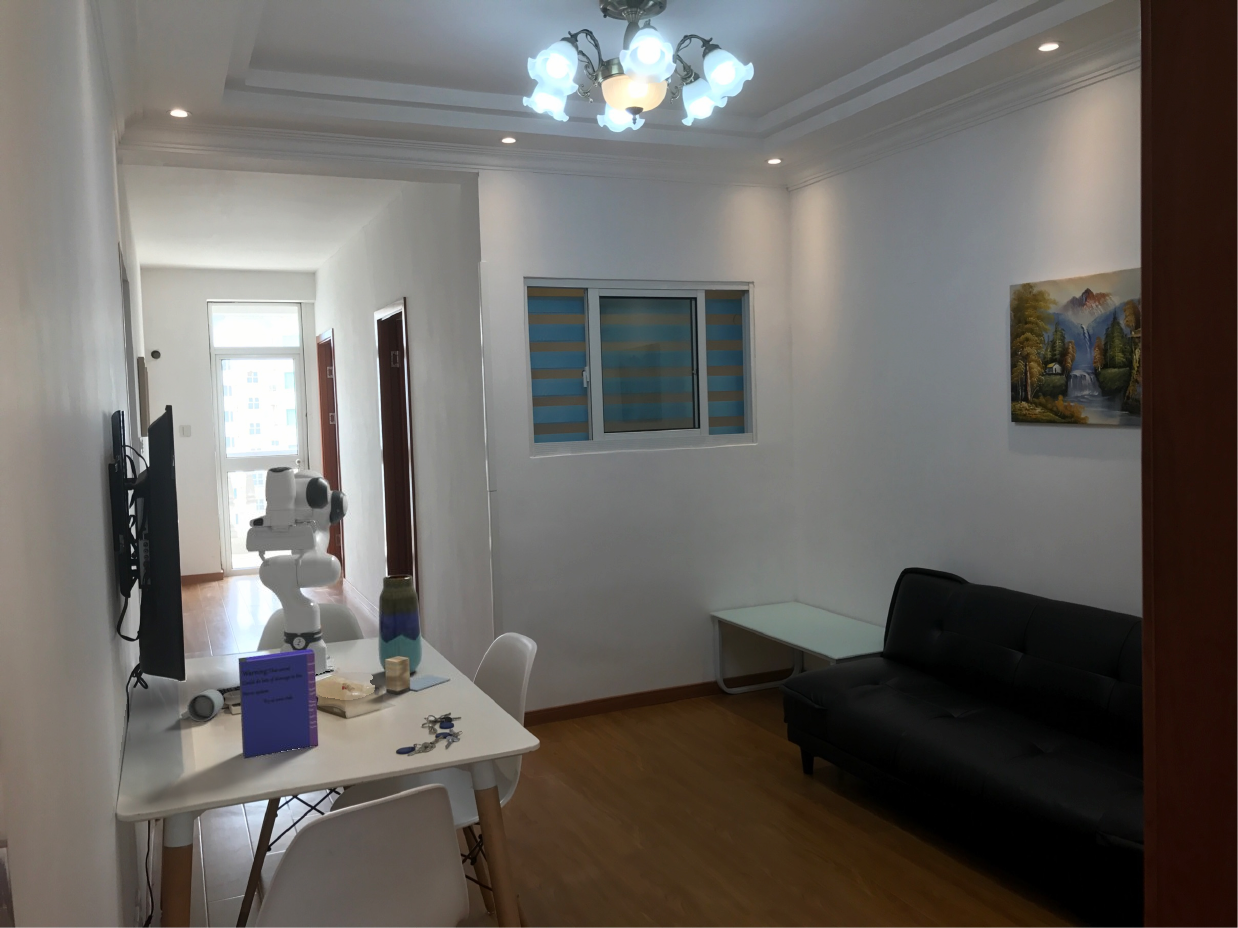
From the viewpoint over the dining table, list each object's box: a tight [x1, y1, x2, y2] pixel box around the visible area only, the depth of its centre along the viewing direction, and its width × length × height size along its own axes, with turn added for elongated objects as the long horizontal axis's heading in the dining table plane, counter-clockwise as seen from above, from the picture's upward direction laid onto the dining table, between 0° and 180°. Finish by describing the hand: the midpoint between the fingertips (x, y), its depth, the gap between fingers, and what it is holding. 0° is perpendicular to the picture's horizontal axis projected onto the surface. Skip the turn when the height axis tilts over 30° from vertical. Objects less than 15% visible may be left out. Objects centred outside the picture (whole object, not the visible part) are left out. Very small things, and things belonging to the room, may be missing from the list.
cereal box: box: [238, 649, 319, 759], centre depth 239 cm, size 17×5×24 cm, turn 117°
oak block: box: [384, 656, 411, 696], centre depth 288 cm, size 5×5×10 cm
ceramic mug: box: [180, 689, 225, 722], centre depth 268 cm, size 11×8×8 cm
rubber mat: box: [410, 674, 451, 692], centre depth 297 cm, size 14×10×1 cm
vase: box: [377, 574, 423, 674], centre depth 310 cm, size 14×14×31 cm
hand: (282, 565), depth 289 cm, fingers open, 8 cm apart
